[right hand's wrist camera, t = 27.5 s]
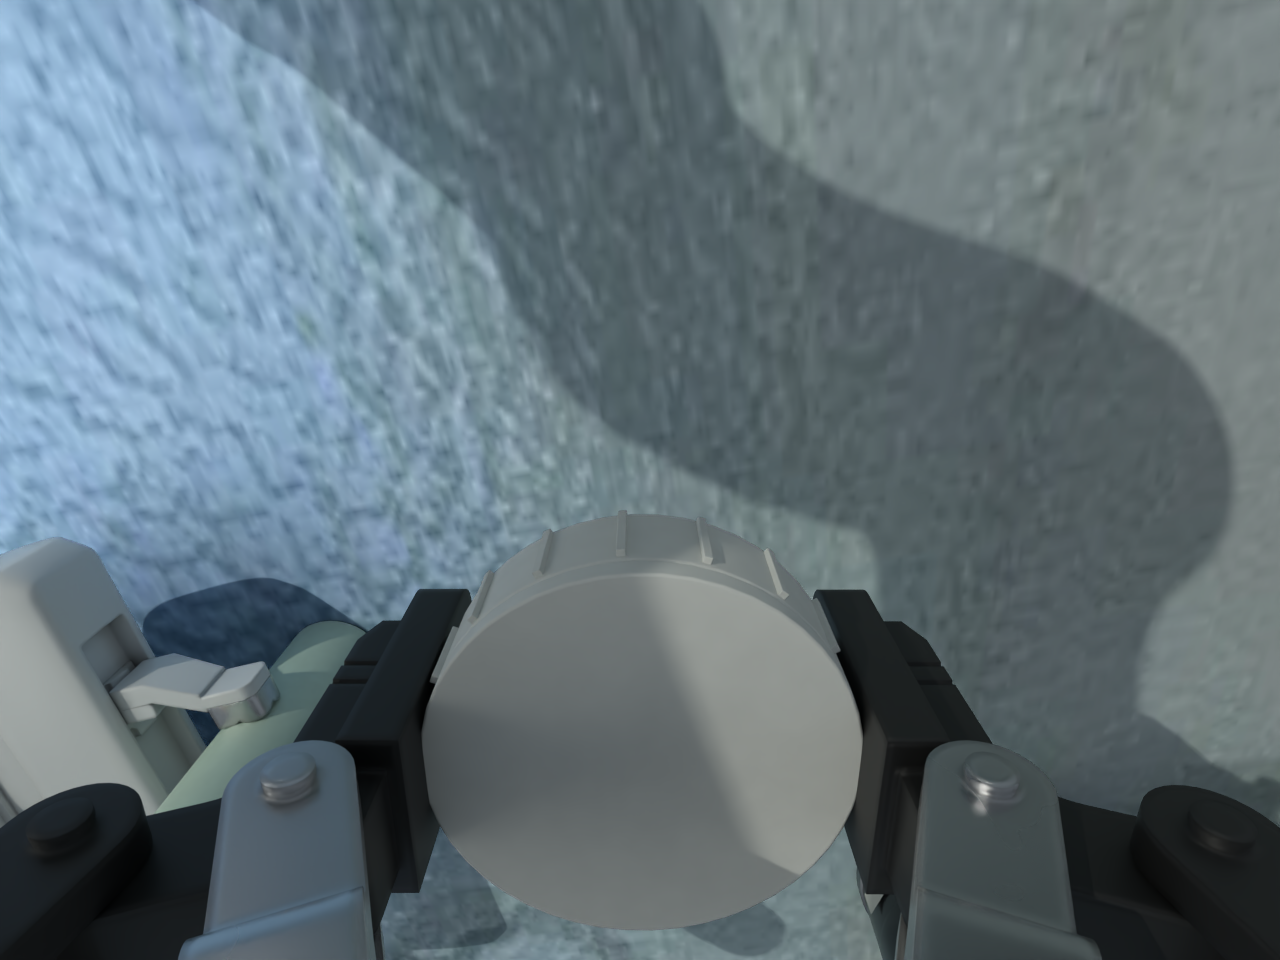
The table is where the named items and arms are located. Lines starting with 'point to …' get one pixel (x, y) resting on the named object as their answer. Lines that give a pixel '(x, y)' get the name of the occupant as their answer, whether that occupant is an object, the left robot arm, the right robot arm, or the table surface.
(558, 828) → the lid
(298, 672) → the pale green tall cylinder
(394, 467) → the table surface
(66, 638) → the left robot arm
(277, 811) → the right robot arm
